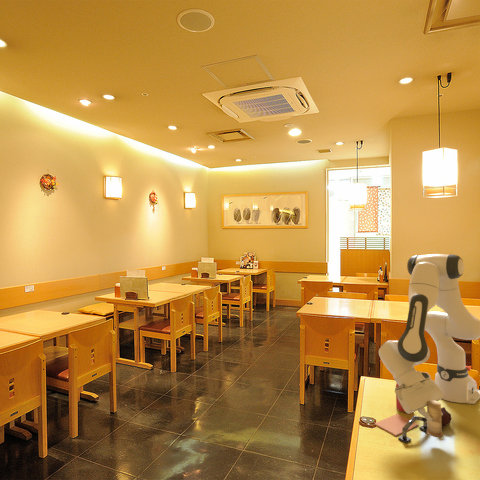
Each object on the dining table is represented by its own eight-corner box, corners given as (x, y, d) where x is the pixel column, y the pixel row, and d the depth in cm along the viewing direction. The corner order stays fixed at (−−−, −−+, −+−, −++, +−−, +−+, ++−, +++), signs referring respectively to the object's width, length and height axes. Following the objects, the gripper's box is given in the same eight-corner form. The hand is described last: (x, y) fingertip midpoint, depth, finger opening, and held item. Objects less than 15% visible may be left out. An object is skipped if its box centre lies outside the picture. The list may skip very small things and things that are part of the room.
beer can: (415, 414, 144) (414, 385, 144) (398, 412, 146) (397, 384, 146) (410, 406, 151) (409, 379, 151) (394, 405, 152) (394, 378, 152)
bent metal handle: (424, 426, 134) (423, 408, 134) (431, 430, 132) (431, 411, 132) (398, 439, 126) (397, 420, 126) (405, 443, 124) (405, 423, 124)
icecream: (431, 398, 144) (423, 416, 133) (451, 399, 139) (444, 417, 128) (437, 415, 143) (429, 434, 132) (457, 416, 139) (450, 436, 127)
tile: (396, 415, 144) (396, 413, 144) (418, 425, 135) (418, 424, 135) (374, 424, 137) (374, 423, 137) (396, 436, 128) (396, 434, 128)
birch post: (432, 428, 126) (431, 398, 126) (445, 434, 122) (444, 403, 122) (423, 432, 124) (423, 402, 124) (437, 439, 119) (436, 407, 119)
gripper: (397, 384, 123) (424, 423, 115) (431, 372, 134) (457, 407, 125) (387, 392, 127) (412, 430, 119) (420, 379, 137) (445, 414, 129)
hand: (436, 418), depth 122 cm, fingers closed on birch post, 4 cm apart
